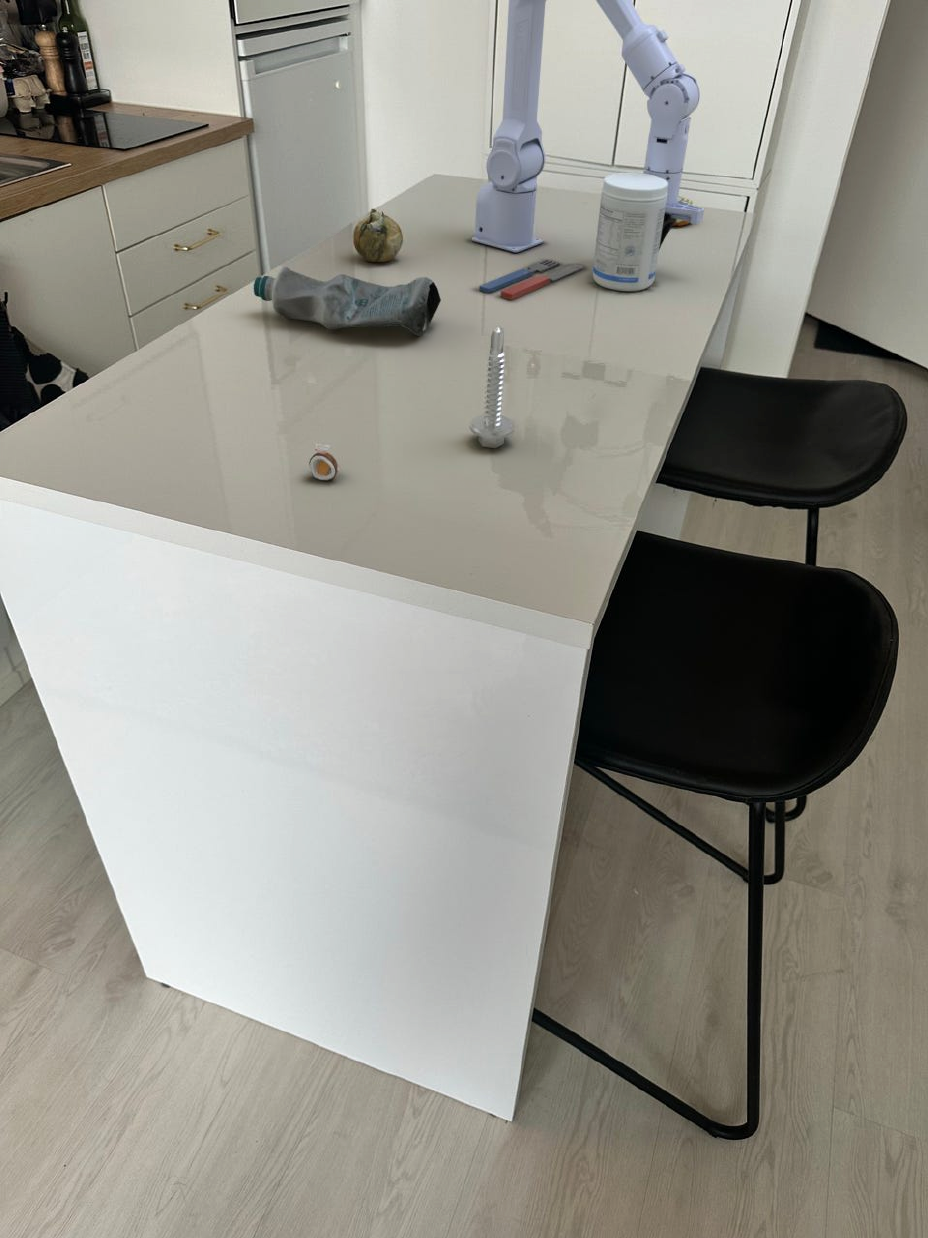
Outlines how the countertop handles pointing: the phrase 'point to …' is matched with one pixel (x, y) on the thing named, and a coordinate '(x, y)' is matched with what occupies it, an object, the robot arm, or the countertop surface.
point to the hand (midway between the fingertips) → (648, 261)
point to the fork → (517, 276)
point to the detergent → (350, 301)
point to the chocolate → (323, 464)
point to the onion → (377, 237)
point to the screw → (493, 398)
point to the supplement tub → (629, 230)
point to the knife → (538, 282)
